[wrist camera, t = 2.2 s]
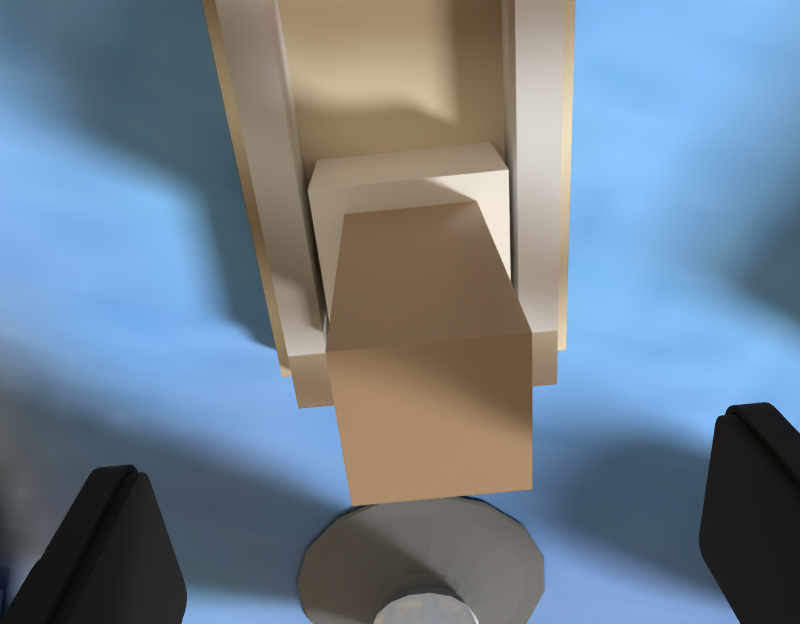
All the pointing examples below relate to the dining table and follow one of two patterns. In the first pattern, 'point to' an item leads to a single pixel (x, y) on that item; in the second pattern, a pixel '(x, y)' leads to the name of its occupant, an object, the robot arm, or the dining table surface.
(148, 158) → the dining table surface
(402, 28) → the track
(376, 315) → the slider
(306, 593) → the cup
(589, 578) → the dining table surface
